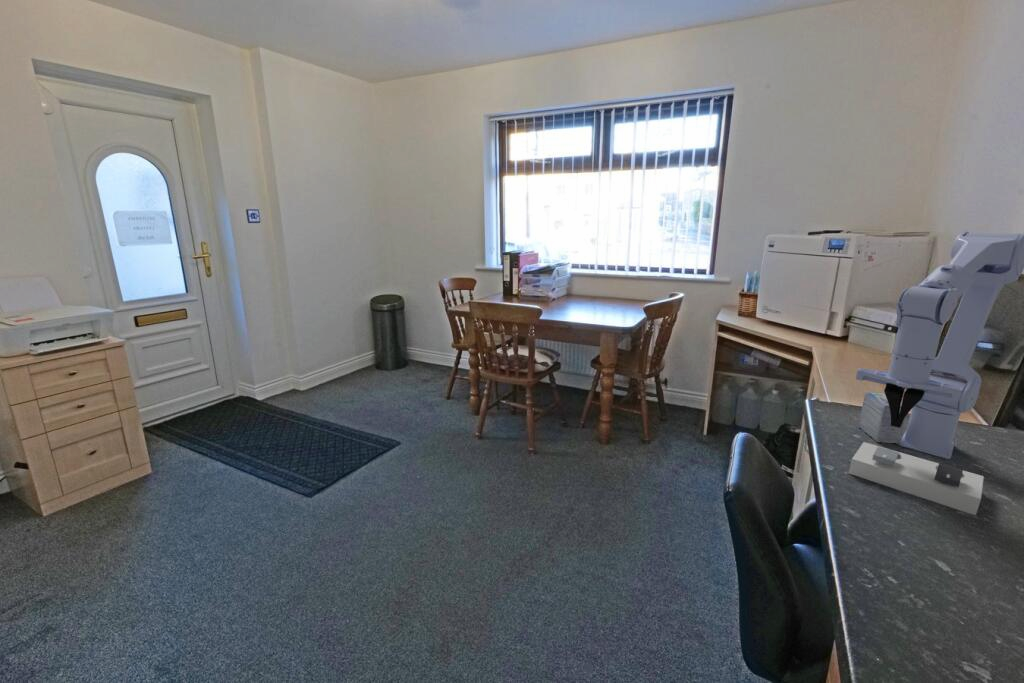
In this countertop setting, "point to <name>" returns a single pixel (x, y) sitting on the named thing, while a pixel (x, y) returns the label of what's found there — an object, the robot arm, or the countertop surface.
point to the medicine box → (879, 419)
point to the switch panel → (918, 479)
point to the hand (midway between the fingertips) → (896, 425)
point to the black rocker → (948, 475)
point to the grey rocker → (885, 456)
